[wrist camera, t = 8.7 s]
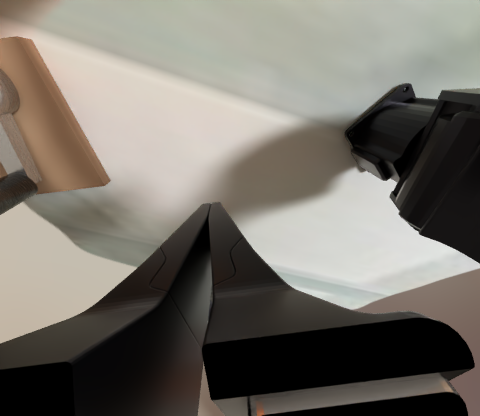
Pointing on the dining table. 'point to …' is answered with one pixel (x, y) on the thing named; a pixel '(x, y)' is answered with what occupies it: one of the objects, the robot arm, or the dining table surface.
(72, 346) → the robot arm
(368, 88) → the dining table surface
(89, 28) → the dining table surface
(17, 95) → the lever
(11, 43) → the base
